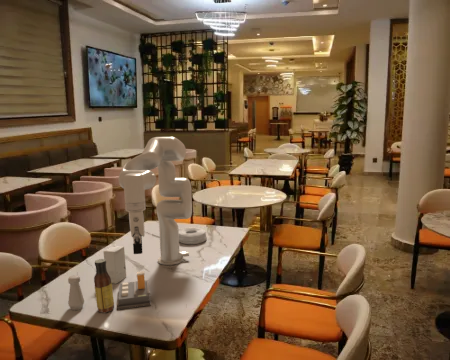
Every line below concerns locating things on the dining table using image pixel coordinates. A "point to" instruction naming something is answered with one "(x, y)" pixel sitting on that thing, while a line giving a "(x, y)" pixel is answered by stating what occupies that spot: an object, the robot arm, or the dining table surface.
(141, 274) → the lever
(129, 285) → the breaker panel
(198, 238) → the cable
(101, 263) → the sauce bottle
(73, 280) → the salt shaker
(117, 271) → the skincare box
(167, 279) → the dining table surface
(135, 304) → the dark brown grooved strip
